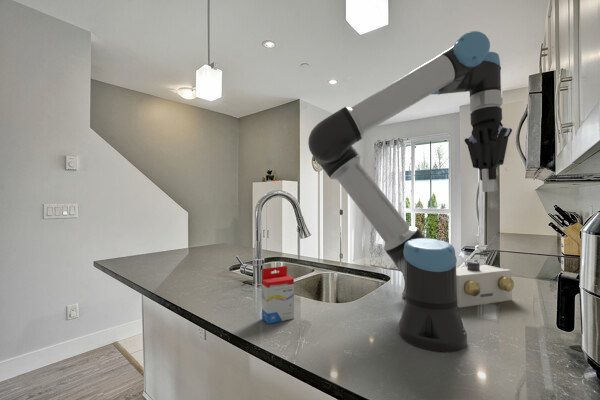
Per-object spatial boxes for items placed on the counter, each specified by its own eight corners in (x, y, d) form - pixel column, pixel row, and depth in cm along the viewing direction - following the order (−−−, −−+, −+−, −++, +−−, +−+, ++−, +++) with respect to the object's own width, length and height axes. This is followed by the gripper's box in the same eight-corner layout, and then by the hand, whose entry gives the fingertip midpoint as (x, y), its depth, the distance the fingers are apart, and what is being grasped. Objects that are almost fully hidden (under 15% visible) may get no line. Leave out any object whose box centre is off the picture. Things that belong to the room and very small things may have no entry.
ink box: (267, 324, 77) (266, 272, 77) (261, 318, 81) (260, 268, 82) (295, 318, 81) (294, 268, 81) (287, 313, 85) (287, 265, 86)
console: (460, 307, 87) (458, 275, 87) (438, 298, 95) (437, 269, 96) (512, 300, 93) (511, 270, 93) (487, 292, 101) (486, 264, 102)
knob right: (503, 292, 89) (503, 278, 89) (479, 284, 98) (478, 272, 98) (514, 290, 90) (513, 277, 90) (488, 283, 99) (488, 271, 99)
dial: (474, 271, 92) (473, 263, 92) (464, 269, 96) (464, 261, 96) (482, 270, 93) (482, 262, 93) (473, 268, 97) (472, 260, 97)
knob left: (469, 297, 85) (469, 282, 85) (446, 288, 94) (446, 275, 94) (480, 295, 87) (480, 281, 87) (457, 287, 95) (456, 274, 95)
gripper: (518, 102, 74) (522, 190, 74) (475, 117, 87) (478, 192, 86) (497, 100, 72) (500, 190, 72) (456, 116, 85) (459, 192, 84)
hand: (488, 191), depth 79 cm, fingers closed
